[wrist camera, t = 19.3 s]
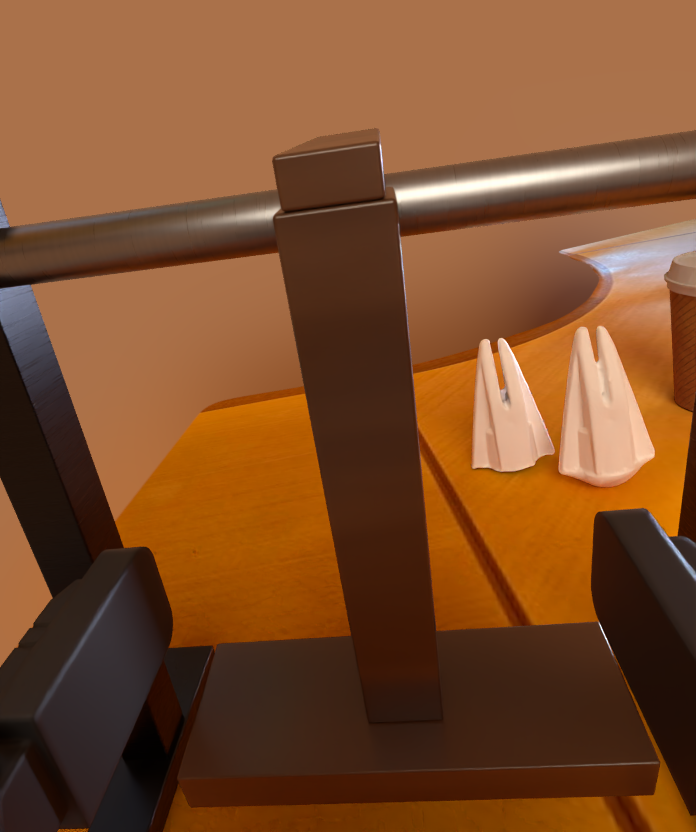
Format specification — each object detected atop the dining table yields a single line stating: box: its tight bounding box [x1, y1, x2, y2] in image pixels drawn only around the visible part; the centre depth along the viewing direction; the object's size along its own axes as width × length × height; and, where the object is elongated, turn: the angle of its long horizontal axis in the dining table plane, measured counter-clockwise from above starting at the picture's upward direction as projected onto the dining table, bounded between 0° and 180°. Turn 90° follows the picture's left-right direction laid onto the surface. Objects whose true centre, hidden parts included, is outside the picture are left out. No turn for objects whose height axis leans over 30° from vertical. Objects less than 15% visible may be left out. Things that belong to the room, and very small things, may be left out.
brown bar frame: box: [177, 128, 660, 808], centre depth 17 cm, size 10×14×18 cm
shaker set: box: [471, 326, 655, 487], centre depth 39 cm, size 12×4×11 cm, turn 53°
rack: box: [0, 130, 696, 832], centre depth 19 cm, size 24×10×23 cm, turn 87°
